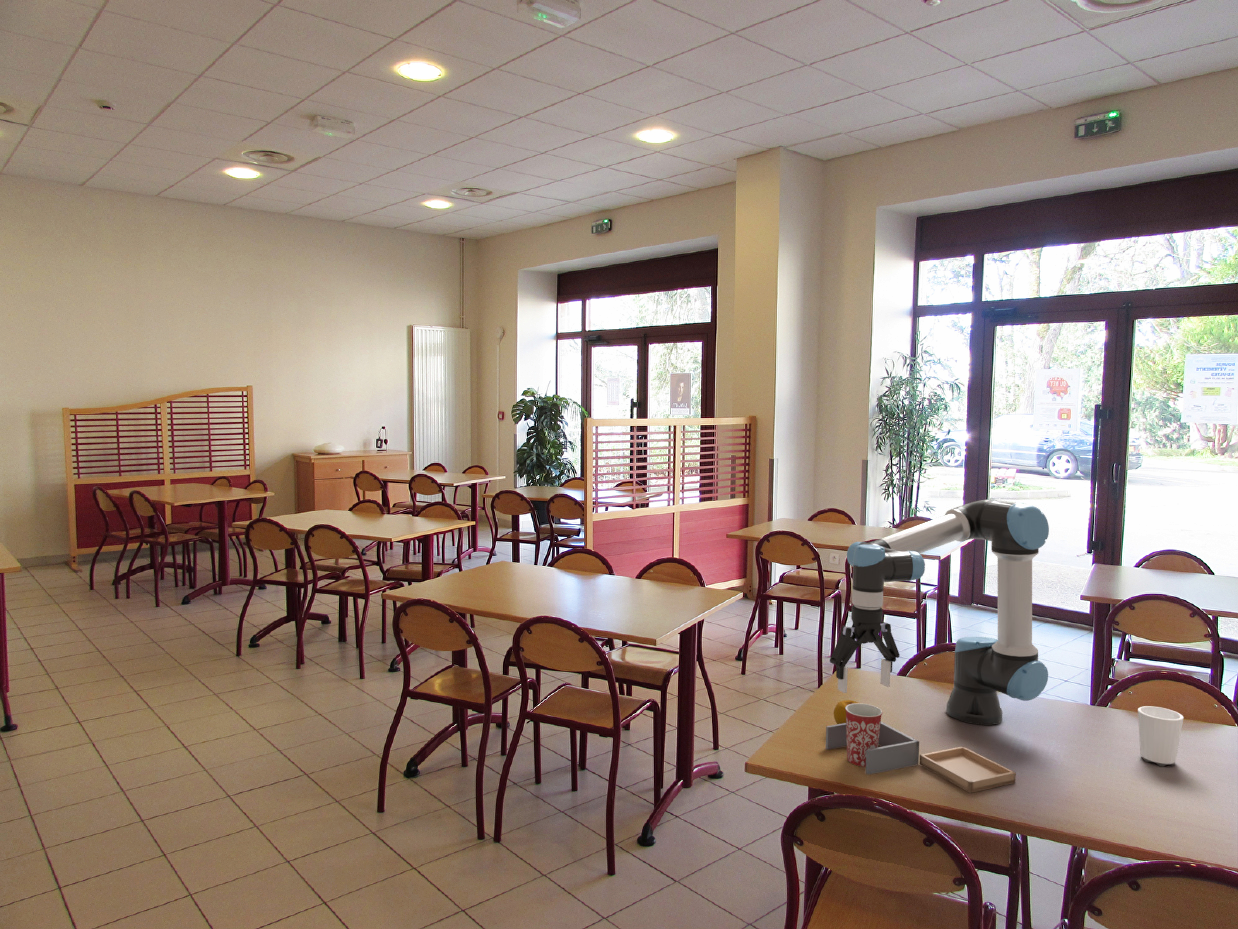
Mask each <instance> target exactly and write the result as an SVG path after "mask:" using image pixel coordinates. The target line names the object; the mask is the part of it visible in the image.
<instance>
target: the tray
mask: <svg viewBox="0 0 1238 929" xmlns="http://www.w3.org/2000/svg"><path fill="white" fill-rule="evenodd" d="M918 765H919V766H921V767H923V768H925V769H927V770H929V771H930V772H932V773H934V774H936V775H938V776H939V777H941V778H943V779H944V780H947V781H948V782H950V783H951V784H953V785H956V786H957V787H959V788H961V789H963V790H965V791H966V792H968V793H969V794H970V793H975V792H979V791H984V790H988V789H989V790H990V789H993V788H998V787H1003V786H1006V785H1011V784H1016V778H1017V777H1016V772H1015V771H1013V770H1011V769H1009V768H1007V767H1005V766H1003V765H1002V764H999V763H997V762H995V761H993V760H992V759H989V758H987V757H985V756H983V755H981V754H979V753H977V752H976V751H973V750H971V749H969V748H967V747H964V746H958V747H953V748H948V749H947V748H946V749H943V750H942V749H941V750H938V751H937V750H936V751H932V752H928V753H922V754H919V763H918Z"/></svg>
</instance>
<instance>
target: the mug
mask: <svg viewBox="0 0 1238 929" xmlns="http://www.w3.org/2000/svg"><path fill="white" fill-rule="evenodd" d="M845 710H846V732H847V746H846V760H847V762H849V763H850V764H852V765H855V766H857V767H862V768H866V750H867V749H873V748H878V747H879V744H878V742H879V733H880V724H881V722H882V715H883V713H884V712H883V710H882V709H881V708H880V707H877V706H876V705H872V704H869V703H863V702H861V703H860V702H858V703H854V704H849V705H847V706H846V707H845Z"/></svg>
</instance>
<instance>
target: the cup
mask: <svg viewBox="0 0 1238 929" xmlns="http://www.w3.org/2000/svg"><path fill="white" fill-rule="evenodd" d="M1137 718H1138V720H1137V721H1138V738H1139V755H1140V756H1141V757H1142V759H1143V760H1144V762H1146V763H1150V764H1151V763H1154V764H1156V765H1157V766H1159V767H1165V766H1167V765H1168V766H1173V767H1174V765H1175V764H1176V762H1177V756H1178V750H1179V746H1180V739H1181V733H1182V728H1183V722H1184V715H1183V714H1181V713H1179V712H1178V711H1175V710H1172V709H1169V708H1165V707H1161V706H1152V705H1151V706H1150V705H1145V706H1144V705H1143V706H1140V707H1138V708H1137Z"/></svg>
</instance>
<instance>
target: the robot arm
mask: <svg viewBox="0 0 1238 929" xmlns="http://www.w3.org/2000/svg"><path fill="white" fill-rule="evenodd" d="M1049 534H1050V525H1049V522H1048V519H1047V517H1046V515H1045V513H1044V512H1042V511H1041V509H1040V508H1039V507H1037V506H1034V505H1030V504H1027V503H1024V502H1016V501H1014V502H1013V501H1005V500H997V499H992V498H991V499H981V500H976V501H972V502H969V503H966V504H963V505H959V506H957V507H953V508H951V509H949V510H947V511H946V512H945V514H944V515H942V516H940V517H936V518H934V519H931V520H929V521H926V522H923V523H920V524H918V525H914V526H912V527H910V528H907V529H903V530H901V531H898V532H895V533H892V534H890V535H887V536H885V537H882V538H879V539H875V540H873V541H870V542H866V541H854V542H853V543H851V545H850V546H849V547H848V549H847V552H846V559H847V563H848V564H849V565H850V566H852V590H851V591H852V592H851V593H852V594H851V598H852V599H851V603H852V606H851V615H850V616H851V617H850V619H851V622H852V625H851V626H846V625H841V628H840V629H841V630H840V631H841V632H840V635H839V638H838V641H837V642H836V645H835V647H834V649H833V651H832V654H831V656H830V658H829V663H831V664H833V665H835V667H836V668H835V669H836V671H835V672H836V675H835V677H836V678H837V691H840V692H841V693H844V694H846V693H847V694H848V676H849V675H848V674H849V668H848V666H847V664H848V662H849V661H850V659H851V658H852V656H853V655H854V653H855V652H856V650H857V649H858V648H859V647H860V646H862V644H863V645H864V644H868V643H871V644H872V643H873V644H874V645H875V647H876V648H877V649H878V652H880V654H881V656H882V657H883V658H881V659H880V660H881V661H880V678H879V679H880V681H879V683H880V685H883V686H885V687H887V688H889V687H891V673H893V672H892V671H893V663H895V662H896V661H897V659H898V658H900V655H901V654H900V652H899V649H898V647H897V645H896V642H895V639H894V637H893V633H892V626H891V623H888V622H885V621H883V608H882V607H883V606H884V585H885V583H889V582H892V583H893V582H894V583H895V582H910V581H914V580H915V581H916V580H919V579H920V578H922V577H923V576H924V574H925V570H926V563H925V562H926V561H925V559H924V558H923V556H922V553H925V552H929V551H931V550H934V549H936V548H939V547H941V546H944V545H946V544H949V543H952V542H955V541H957V542H960V543H962V542H966V541H968V540H984V541H989V542H991V552H992V554H994V555H995V556H996V557H997V639H996V638H993V637H986V636H985V637H984V636H965V637H960V638H958V639H957V640H956V643H955V650H954V666H953V668H954V669H953V688H952V690H951V693H950V695H949V699H948V701H947V702H946V707H945V708H946V710H945V712H946V714H947V715H948V716H949V717H951V718H953V719H956V720H958V721H961V722H965V723H969V724H973V725H983V726H985V725H989V726H991V725H996V724H999V723H1001V722H1002V721H1003V710H1002V707H1001V705H1000V701H999V696H998V692H1000V693H1001V694H1004V695H1007V696H1008V697H1010V698H1013V699H1017V700H1019V701H1023V702H1024V701H1025V702H1026V701H1032V700H1034V699H1036V698H1037V697H1039V696H1040V695H1041V693H1042V692H1043V691H1044V690H1045V688H1046V686H1047V683H1048V680H1049V671H1048V667H1047V666H1046V665H1045V664H1044V662H1042V661H1040V660H1039V649H1038V648H1037V647H1036V646H1035V645H1034V644H1033V559H1034V558H1035V557H1036V556H1037V555H1038V554H1039V552H1040V550H1039V549H1040V548H1042V547H1043V546H1044V545H1045V544H1046V540H1048V537H1049ZM880 632H881V635H882V637H881V635H880ZM883 640H884V641H883Z"/></svg>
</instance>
